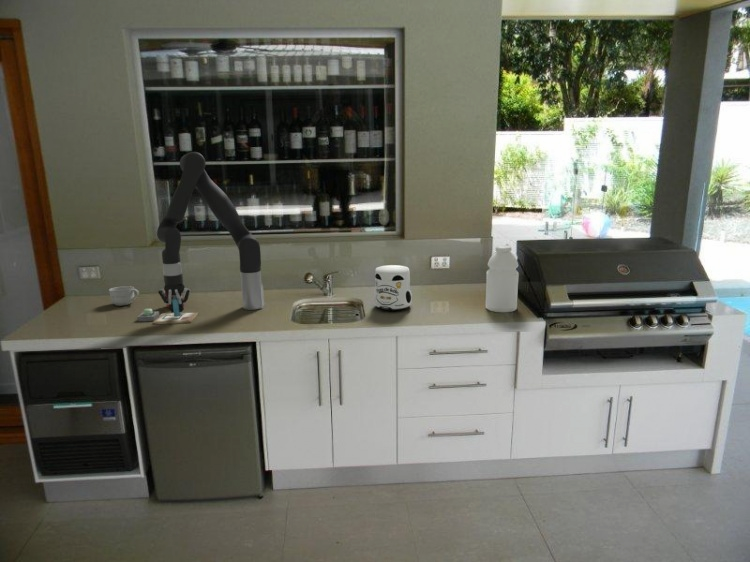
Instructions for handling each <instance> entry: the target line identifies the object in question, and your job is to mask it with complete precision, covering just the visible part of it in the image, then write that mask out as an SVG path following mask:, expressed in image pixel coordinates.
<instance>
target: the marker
mask: <svg viewBox="0 0 750 562" xmlns="http://www.w3.org/2000/svg"><path fill="white" fill-rule="evenodd" d="M172 304H173V313H174V316H181V313H182V312H180V311H179V301H178V299H177V296H176V295H172Z"/></svg>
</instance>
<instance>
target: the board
mask: <svg viewBox="0 0 750 562" xmlns="http://www.w3.org/2000/svg"><path fill="white" fill-rule="evenodd" d="M159 315H160V316H159V317H158V318H157V319H156V320H155V321H152V324H153V325H167V324H170V325H171V324H192V323H193V321H195V319H197V317H198V315H199V312H181V316H174V313H172V312H170V313H167V312H166V313H164V312H163V313H161V314H159Z"/></svg>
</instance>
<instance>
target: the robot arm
mask: <svg viewBox="0 0 750 562" xmlns="http://www.w3.org/2000/svg"><path fill="white" fill-rule="evenodd" d="M179 167H180V169H181V171H182V173H181V178H180V180H179V183H178V185H177V187H176V189H175V191H174V193H173V195H172V198H171V200H170V201H169V205H168V208H167V210H166V214H165V215H164V217H163V218H162V220H161V222H160V223H159V226H158V228H157V231H156V236H157V239H158V240H159V241H160V242H163V243H164V244H165V245H164V249H163V250H162V251H161V257H162V273H163V282H164V283H163V284H165V287H164V286H163V288H161V289H159V290H158V292H157V293H158V294H159V296H160V298H161V300H162V301H163V303H165V304H166V303H168V304H169V308H168V309H169V311H170V313H173V304H172V295H176V296H177V299H178V301H179V311H180V312H181V313H183V311H184V309H185V304H186V303H187V302H188V300H189V298H190V297H189V296H190V294H191V293H192V289H191V288H187V287H185V285H184V277H183V267H182V263H181V254H180V250H181V243H182V236H181V232H180V230H179V228H177V226H178V224H179V223H182V222H183V220H184V218H185V215H186V212H187V210H188V206H189V204H190V200H191V197H192V195H193V193H194V189H195V188H196V189H197V191H198V193H199V194H200V196H201V197H202V199H203V201H204V202H205V203H206V205H207V207H208V208H209V209H210V211H211V213H212V214H213V215H214V217H215V218H216V220H217V221H219V223H220V224H221V225H222V226H223V227H224V228H225V230H227V231H228V233H229V234H230V236H231V238H232V239H233V241H234V243H235V245H236V246H237V249H238V253H239V272H240V273H239V275H240V285H241V287H240V288H241V297H242V299H241V300H242V308H243V310H247V311H248V310H249V311H252V310H253V311H254V310H259V309H263V308H264V306H265V295H264V293H265V292H264V285H263V282H262V268H261V267H262V260H261V259H262V258H261V257H262V256H261V244H260V242H259V241H258V239H257V238H256V237H255V236H254V235H253V234H252V233H251V232H250V230H249V229H248V228H247V227H246V225H245V224H244V223H243V221H242V219H241V217H240V215H239V213H238V211H237V209H236V207H235V206H234V204H233V202H232V201H231V200H230V198H229V197H228V194H226V193H225V192H224V191H223V189H222V188H220V187H219V186H218V185H217V184H216V183H215V182H214V181H213V180H212V179H211V178H210V177H211V176H209V175H208V173H207V171H206V170H205V168H206V159H205V157H204V156H203V155H202V154H201V153H200V152H198V151H191V152H188V153H186V154H184V155H183V156H181V158H180V160H179ZM165 291H166V292H167V293H168V295H169V296H168V298H167V296H166V295H165ZM182 292H183V293H184V295H183V296H182ZM182 297H183V298H184V299H183V298H182ZM168 299H169V300H168ZM183 303H184V305H183Z"/></svg>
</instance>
